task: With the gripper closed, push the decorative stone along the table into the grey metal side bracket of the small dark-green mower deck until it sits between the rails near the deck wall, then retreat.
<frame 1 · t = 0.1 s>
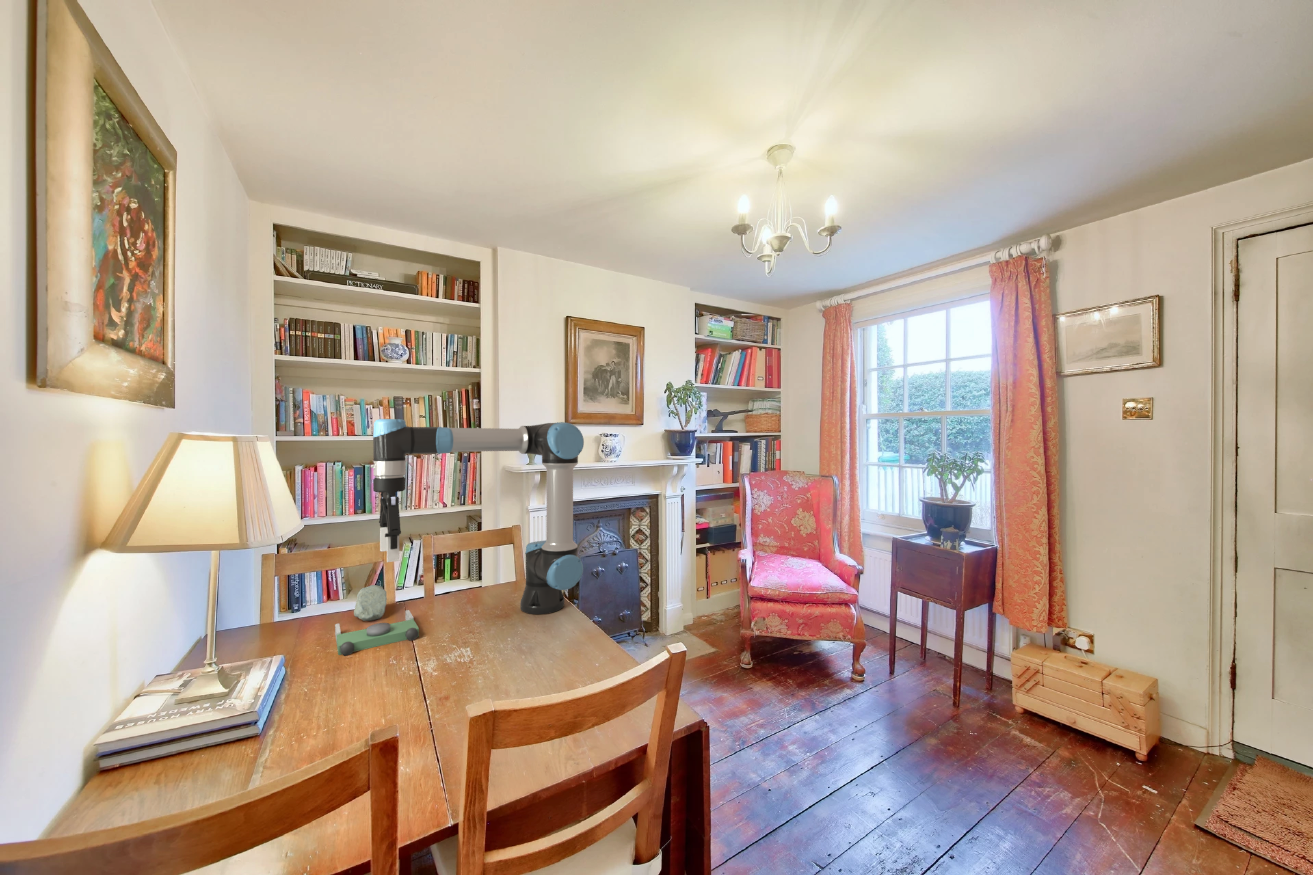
hand: (389, 555, 127), 28 cm above the table, fingers open, 13 cm apart
decorative stone: (370, 617, 157), on the table
deck: (378, 640, 139), on the table
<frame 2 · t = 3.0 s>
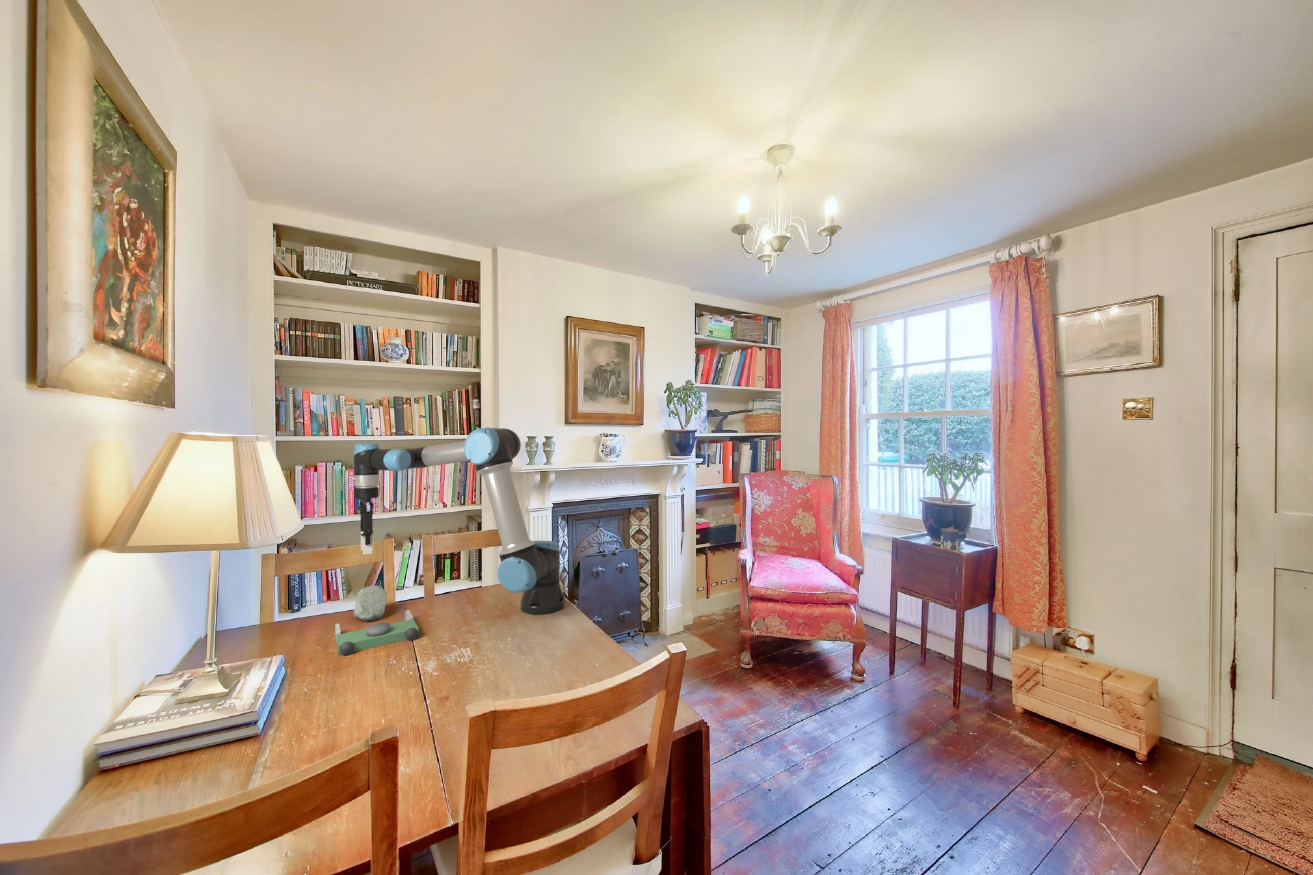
hand: (366, 551, 167), 19 cm above the table, fingers open, 7 cm apart
nothing on the table moved.
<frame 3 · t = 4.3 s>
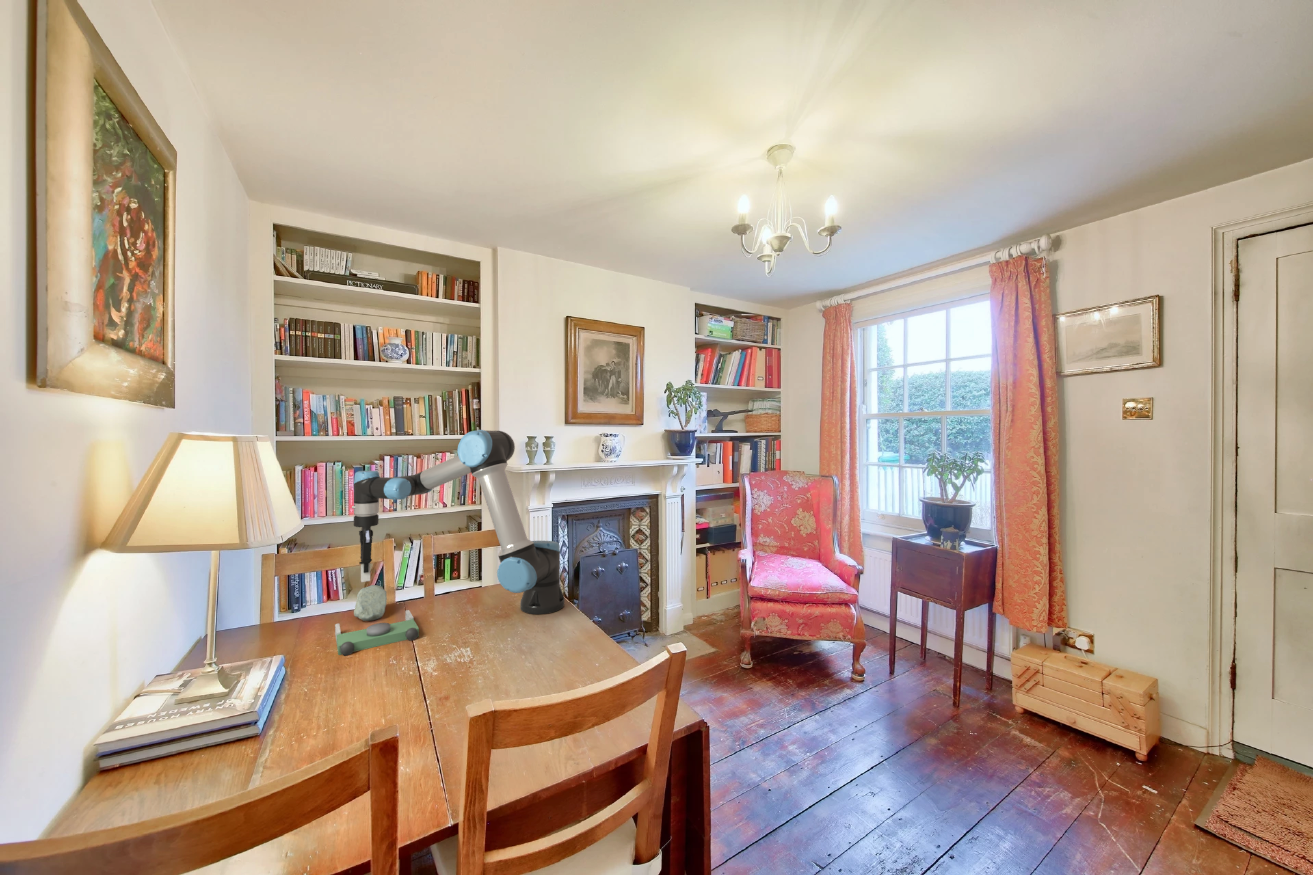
hand: (365, 580, 167), 9 cm above the table, fingers closed
nothing on the table moved.
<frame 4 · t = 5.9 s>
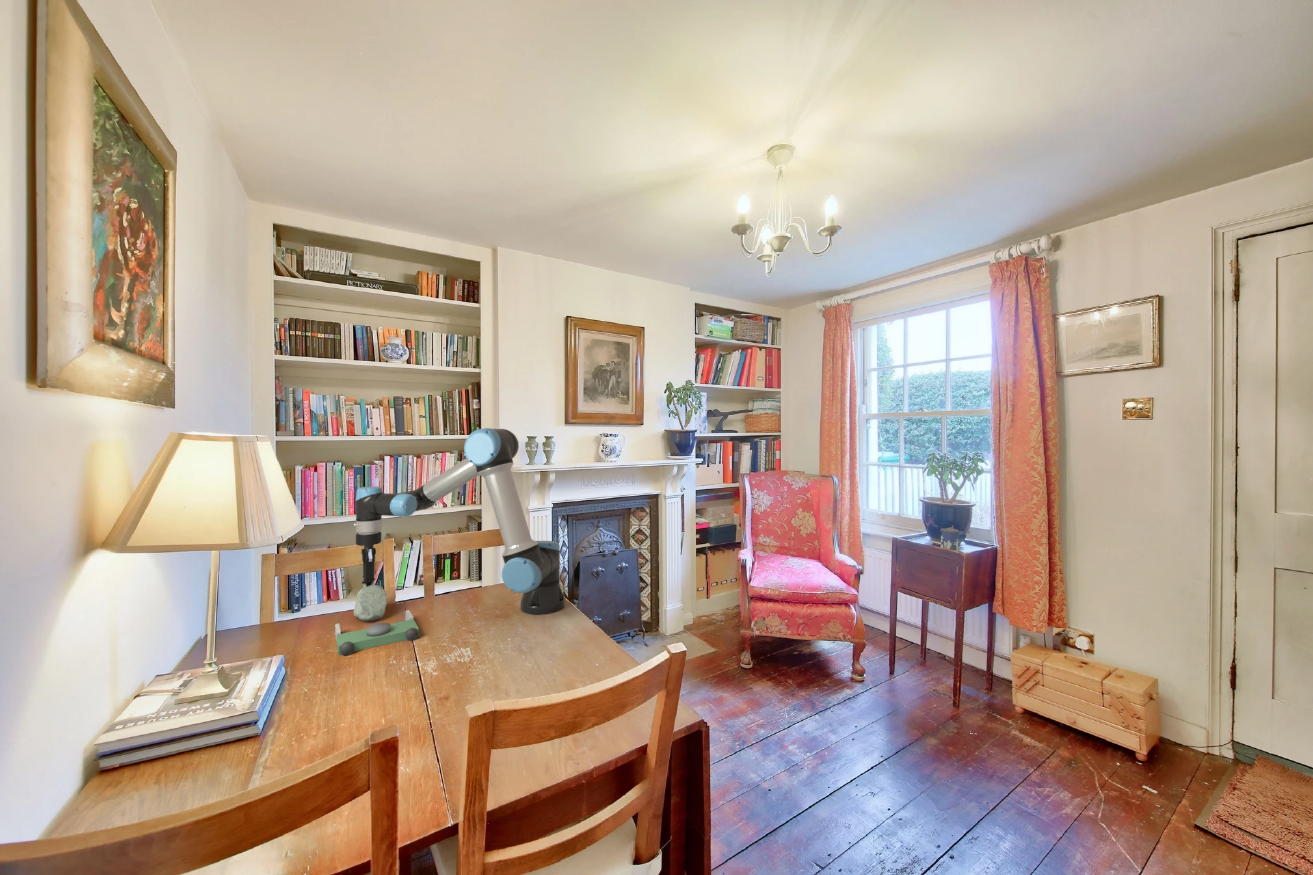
hand: (368, 600, 161), 4 cm above the table, fingers closed
decorative stone: (370, 617, 156), on the table, touching gripper
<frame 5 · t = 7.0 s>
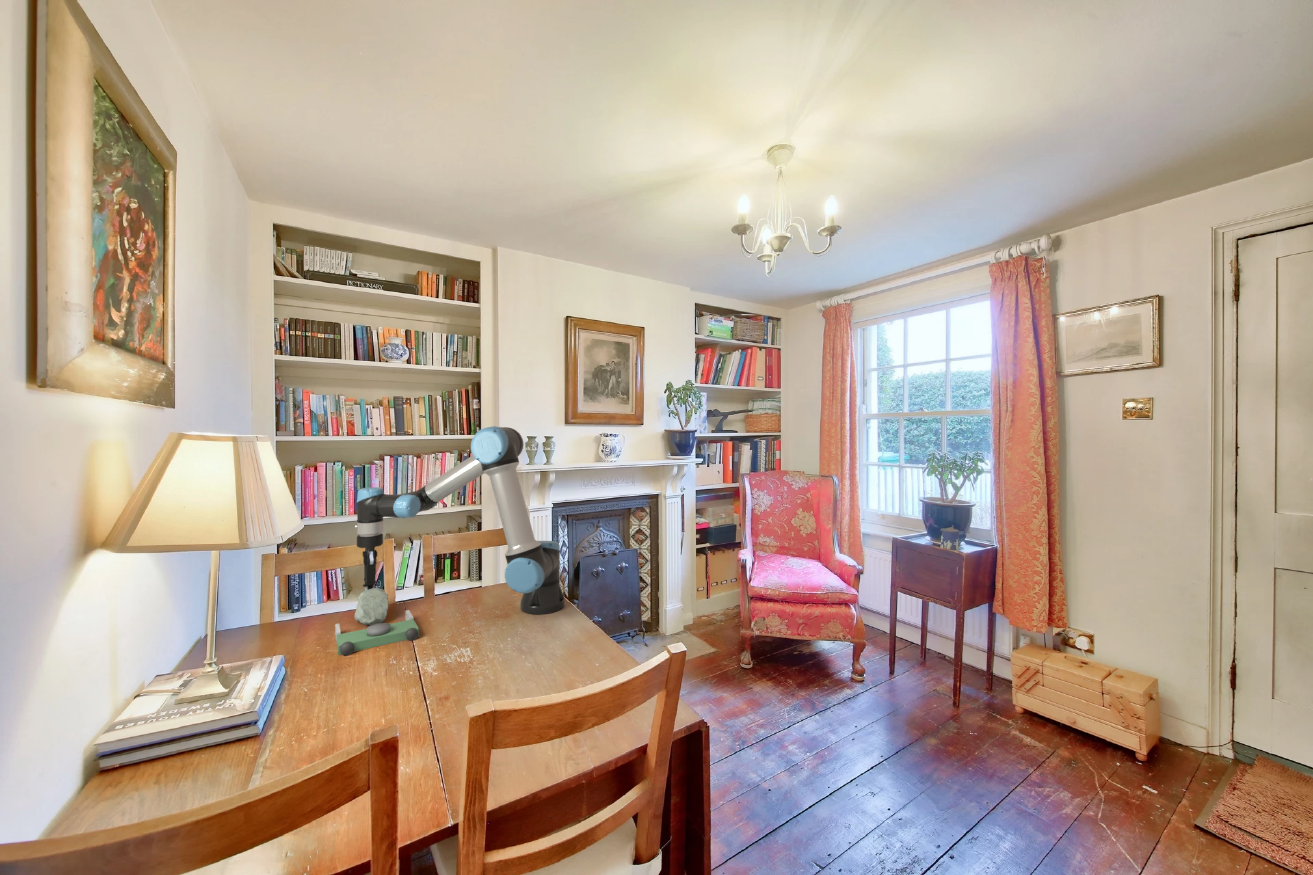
hand: (369, 604, 158), 4 cm above the table, fingers closed
decorative stone: (371, 621, 153), on the table, touching gripper
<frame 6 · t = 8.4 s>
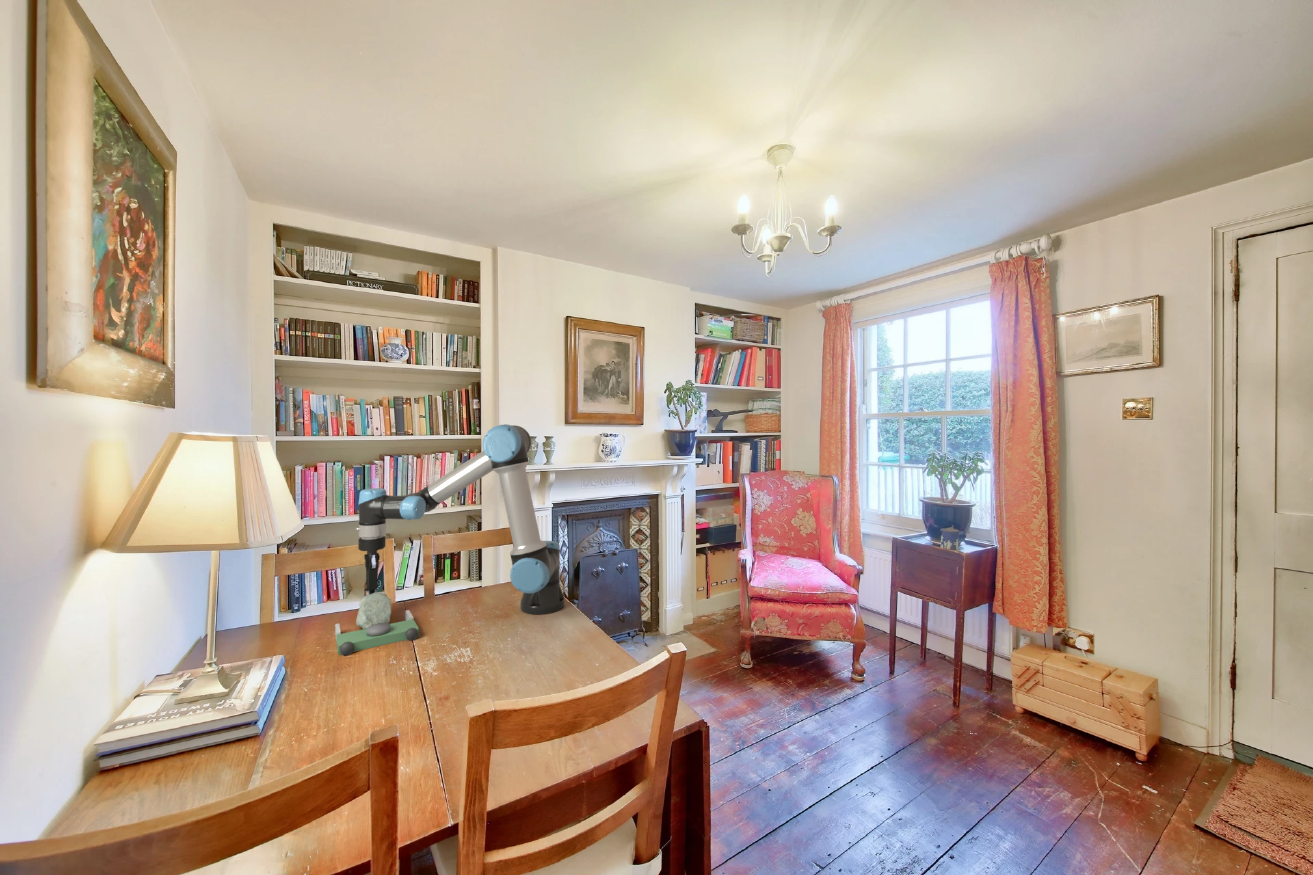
hand: (371, 608, 153), 4 cm above the table, fingers closed
decorative stone: (373, 627, 148), on the table, touching deck, gripper
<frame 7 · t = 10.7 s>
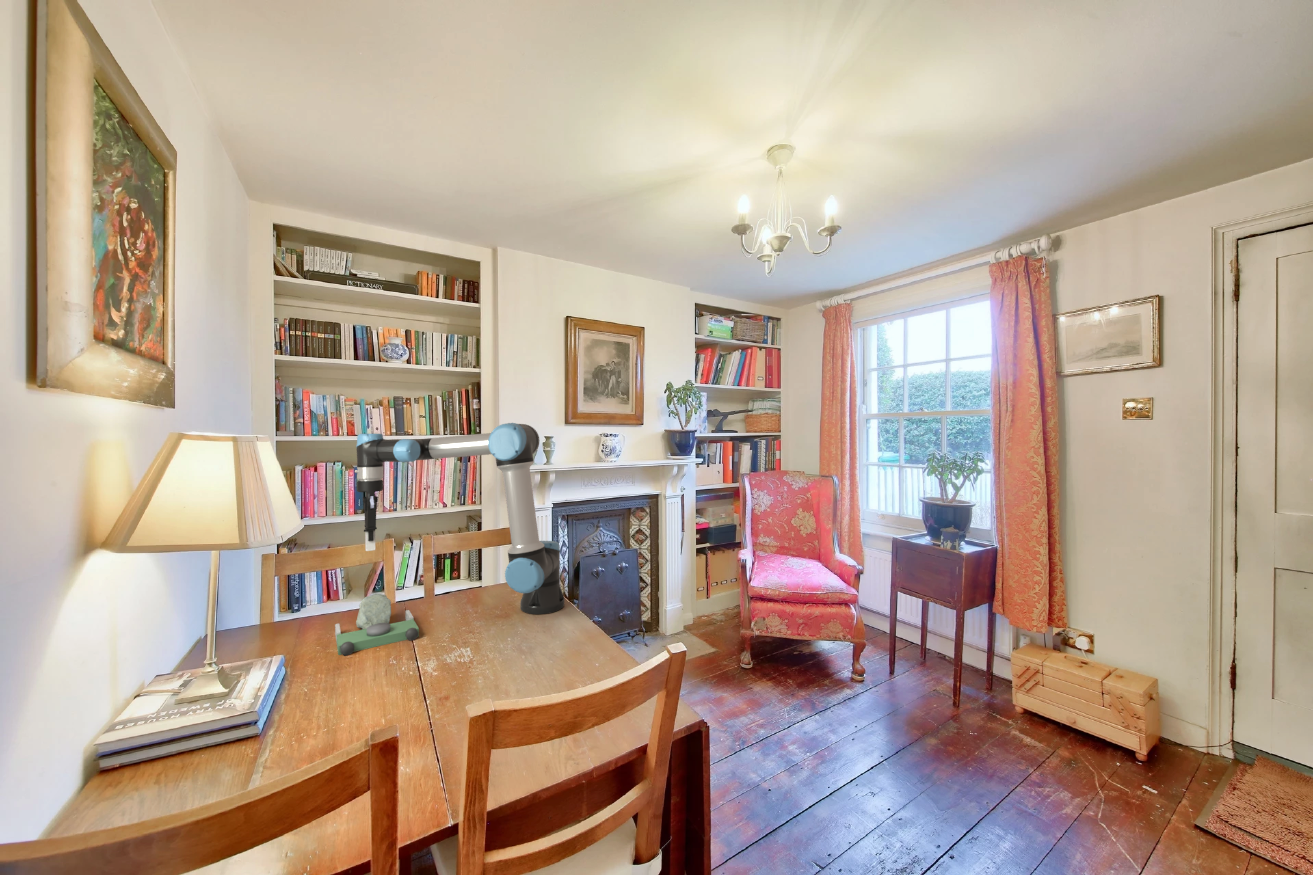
hand: (370, 550, 158), 22 cm above the table, fingers closed
decorative stone: (373, 628, 148), on the table
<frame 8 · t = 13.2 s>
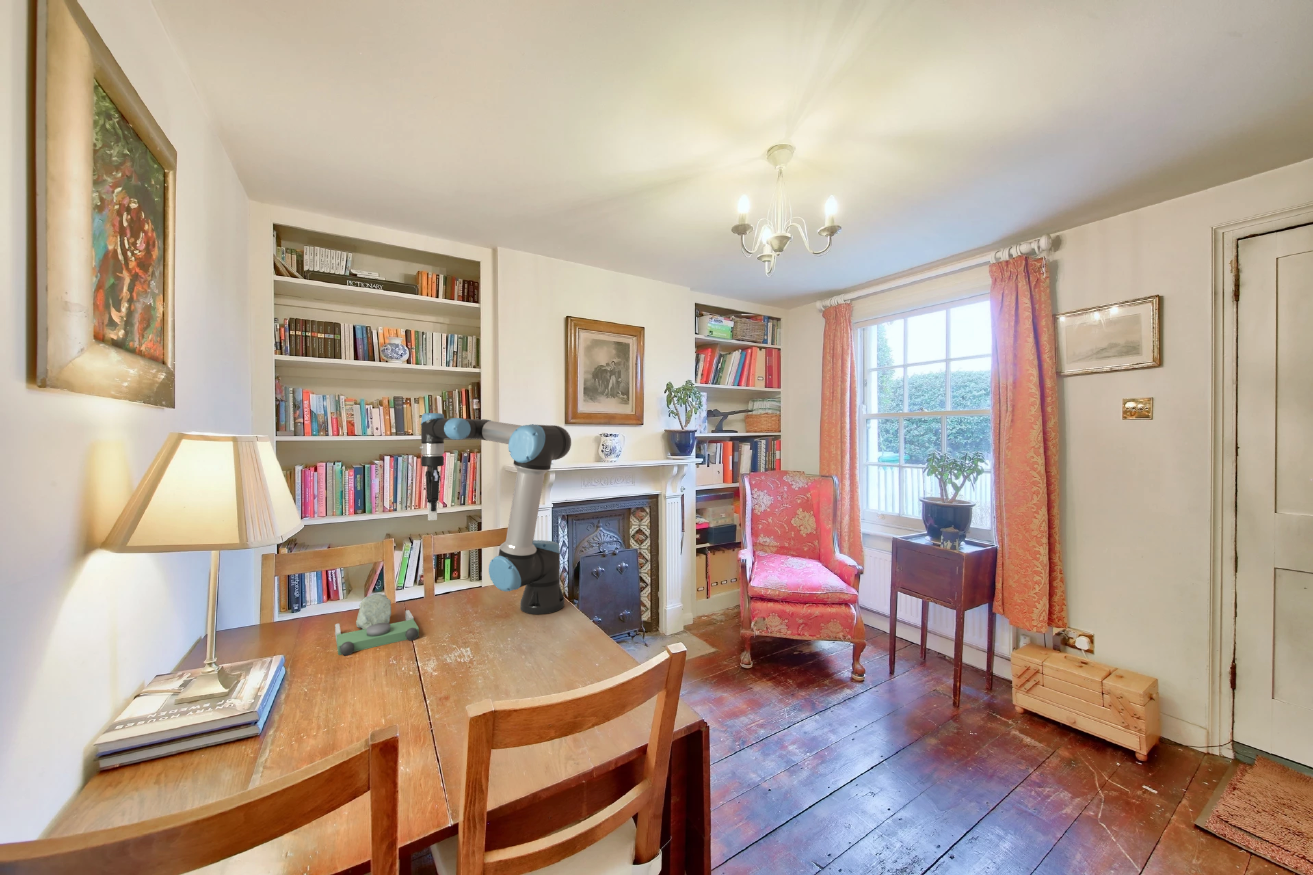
hand: (432, 519, 173), 29 cm above the table, fingers closed
nothing on the table moved.
at the end: decorative stone inside the target area (0.2 cm from its centre), on the table; decorative stone moved 10.7 cm from its start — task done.
